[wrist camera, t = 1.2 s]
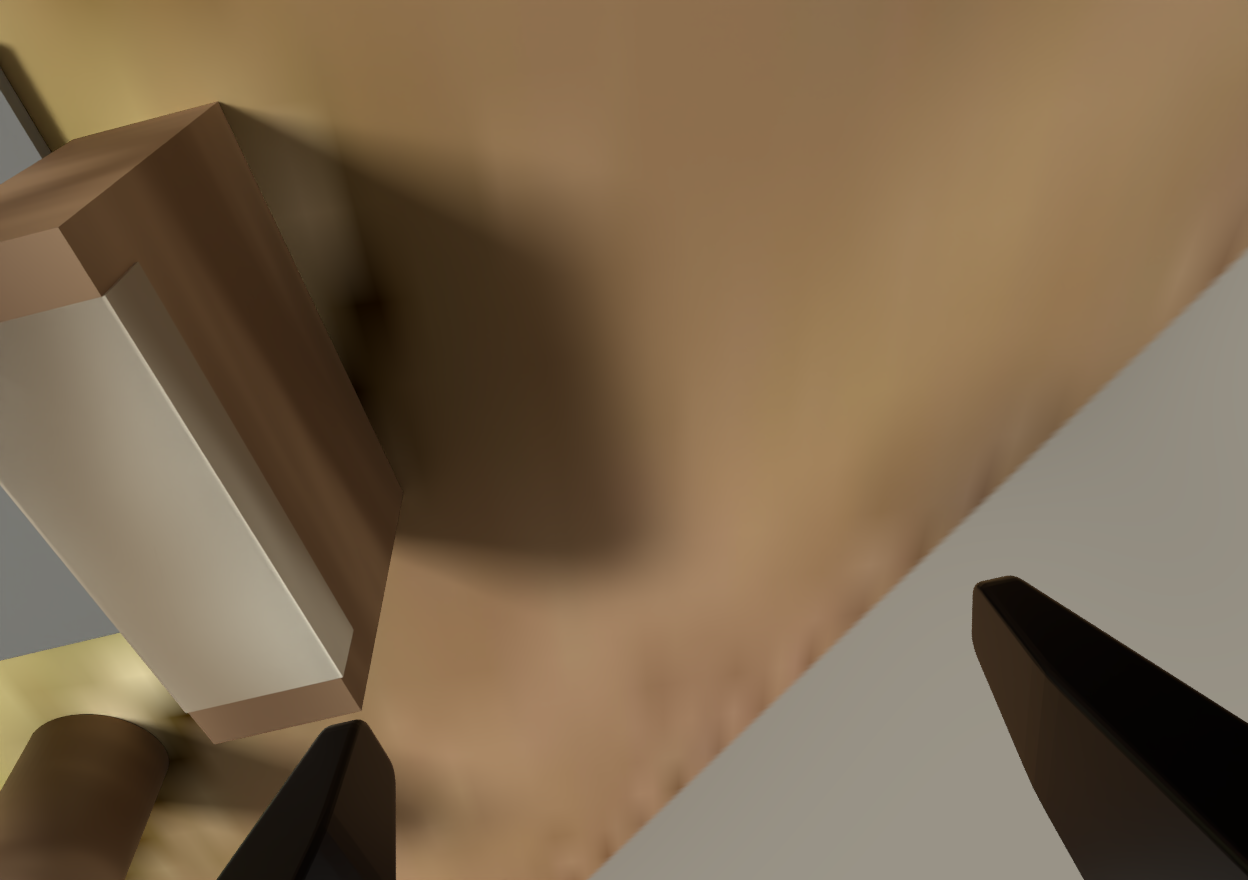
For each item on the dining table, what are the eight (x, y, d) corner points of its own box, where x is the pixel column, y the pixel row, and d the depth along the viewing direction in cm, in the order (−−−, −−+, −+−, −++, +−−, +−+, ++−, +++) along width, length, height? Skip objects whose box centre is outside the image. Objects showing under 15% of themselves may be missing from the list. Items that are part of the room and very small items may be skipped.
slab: (221, 99, 17) (61, 226, 11) (405, 491, 22) (363, 710, 17) (71, 139, 17) (-164, 284, 11) (292, 518, 23) (211, 744, 17)
